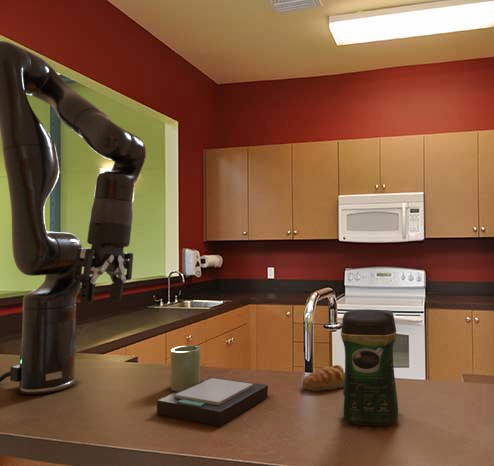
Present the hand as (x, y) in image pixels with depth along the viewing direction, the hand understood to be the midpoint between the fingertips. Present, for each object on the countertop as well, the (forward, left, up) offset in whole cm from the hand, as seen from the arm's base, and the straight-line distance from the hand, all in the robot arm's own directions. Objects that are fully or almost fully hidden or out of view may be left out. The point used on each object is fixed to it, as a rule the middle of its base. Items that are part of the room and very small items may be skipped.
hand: (101, 301), depth 81 cm
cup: (+12, +10, -19) cm, 25 cm away
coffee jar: (+54, +9, -19) cm, 58 cm away
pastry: (+40, +21, -19) cm, 49 cm away
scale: (+25, +4, -19) cm, 32 cm away
